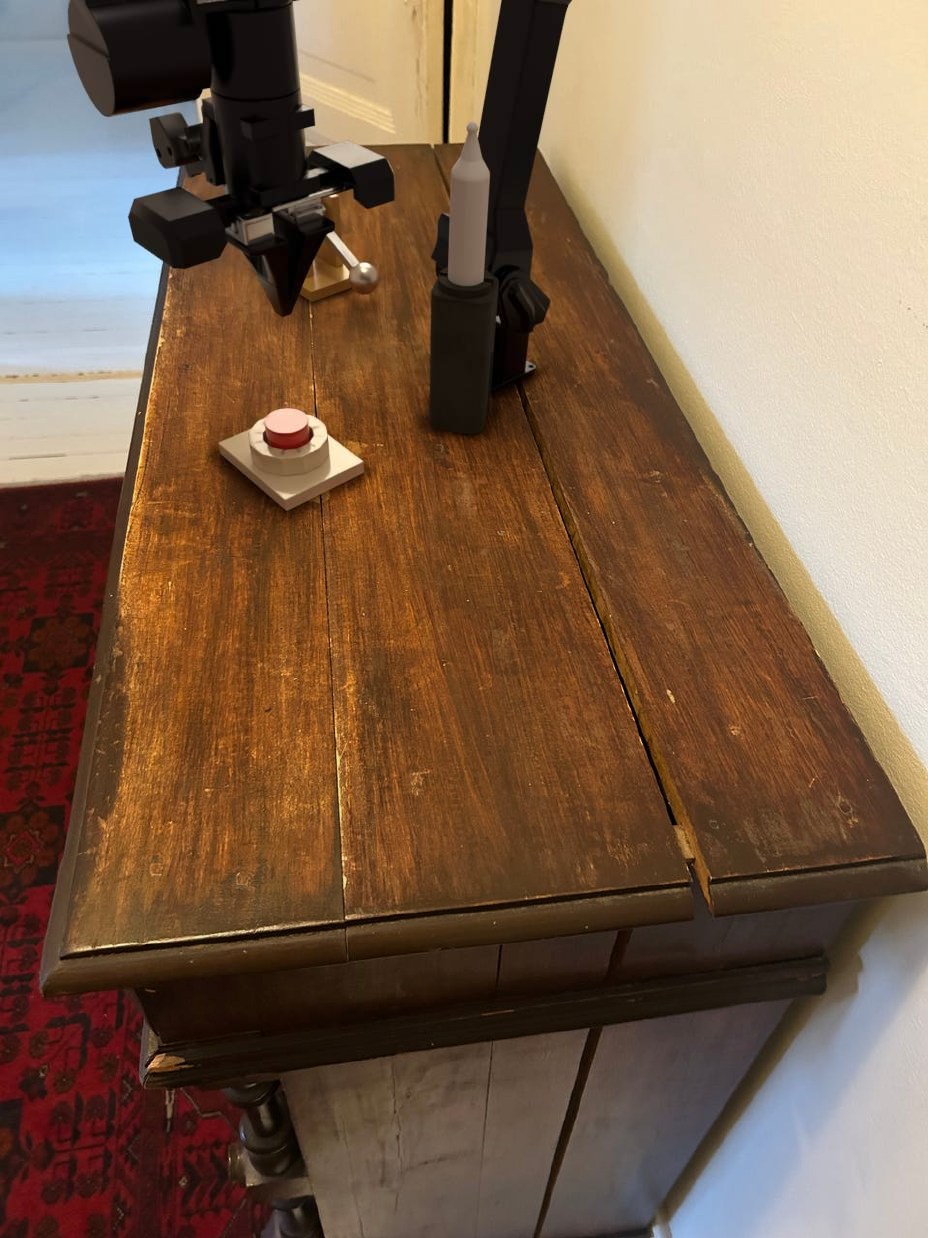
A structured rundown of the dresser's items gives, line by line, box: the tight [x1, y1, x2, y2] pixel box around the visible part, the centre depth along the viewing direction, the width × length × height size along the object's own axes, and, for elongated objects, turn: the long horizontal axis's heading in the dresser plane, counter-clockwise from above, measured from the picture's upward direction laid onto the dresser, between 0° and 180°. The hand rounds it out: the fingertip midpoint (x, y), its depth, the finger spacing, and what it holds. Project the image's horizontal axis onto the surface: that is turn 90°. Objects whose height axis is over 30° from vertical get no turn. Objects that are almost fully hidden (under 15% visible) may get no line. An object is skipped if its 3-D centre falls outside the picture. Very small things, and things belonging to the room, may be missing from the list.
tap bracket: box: [299, 194, 352, 303], centre depth 95 cm, size 10×8×9 cm
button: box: [264, 407, 310, 450], centre depth 72 cm, size 4×4×2 cm
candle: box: [428, 121, 499, 435], centre depth 72 cm, size 5×5×25 cm
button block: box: [217, 414, 365, 512], centre depth 74 cm, size 10×8×3 cm
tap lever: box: [322, 205, 380, 296], centre depth 93 cm, size 13×3×3 cm, turn 44°
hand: (283, 313), depth 67 cm, fingers closed
